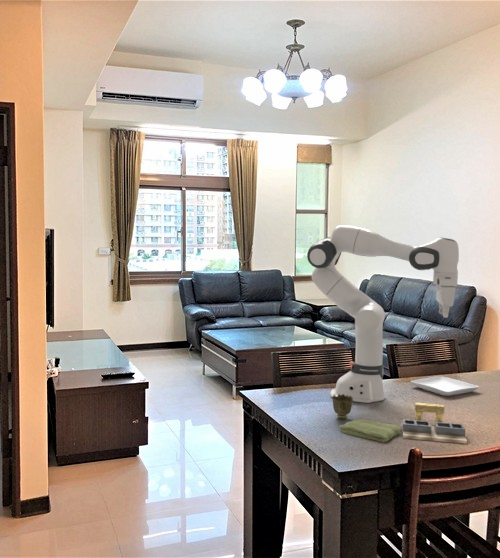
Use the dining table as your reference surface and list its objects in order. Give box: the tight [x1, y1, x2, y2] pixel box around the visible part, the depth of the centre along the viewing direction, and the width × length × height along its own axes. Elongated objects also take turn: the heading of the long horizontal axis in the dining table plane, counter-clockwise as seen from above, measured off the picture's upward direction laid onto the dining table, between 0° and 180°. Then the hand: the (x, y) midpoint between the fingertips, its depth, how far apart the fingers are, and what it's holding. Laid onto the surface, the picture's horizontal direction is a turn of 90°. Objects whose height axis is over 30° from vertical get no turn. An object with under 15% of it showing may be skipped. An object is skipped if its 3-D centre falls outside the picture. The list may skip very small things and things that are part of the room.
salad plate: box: [410, 375, 480, 397], centre depth 250 cm, size 21×21×3 cm
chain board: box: [400, 422, 468, 445], centre depth 192 cm, size 20×13×1 cm, turn 78°
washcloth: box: [339, 418, 402, 443], centre depth 193 cm, size 13×18×3 cm
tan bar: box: [414, 402, 445, 423], centre depth 205 cm, size 10×3×6 cm, turn 78°
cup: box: [331, 394, 354, 420], centre depth 207 cm, size 8×7×8 cm
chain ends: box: [401, 418, 466, 438], centre depth 192 cm, size 20×5×2 cm, turn 78°
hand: (443, 315), depth 218 cm, fingers open, 8 cm apart
